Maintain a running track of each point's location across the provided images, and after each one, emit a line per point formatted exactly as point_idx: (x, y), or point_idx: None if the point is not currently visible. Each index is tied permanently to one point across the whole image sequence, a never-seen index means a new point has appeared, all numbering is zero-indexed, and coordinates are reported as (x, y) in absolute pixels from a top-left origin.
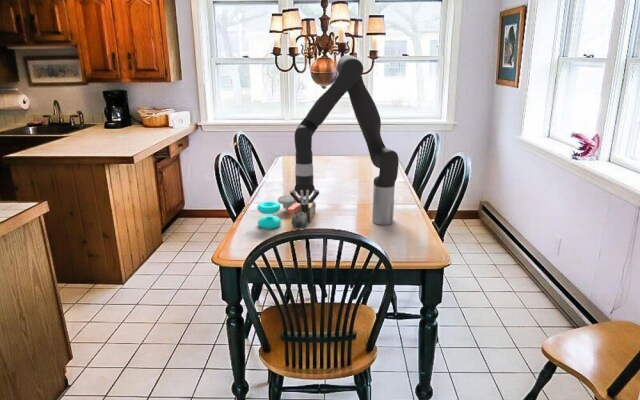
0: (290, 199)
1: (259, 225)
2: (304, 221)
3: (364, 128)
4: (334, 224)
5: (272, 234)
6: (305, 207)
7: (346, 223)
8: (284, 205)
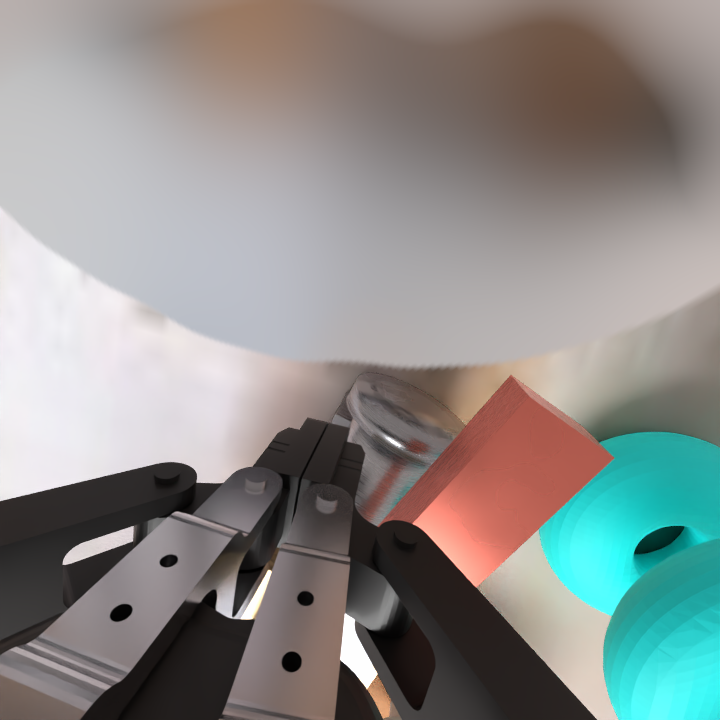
0: None
1: None
2: (354, 385)
3: None
4: (125, 384)
5: (679, 311)
6: (303, 449)
7: (41, 378)
8: None
